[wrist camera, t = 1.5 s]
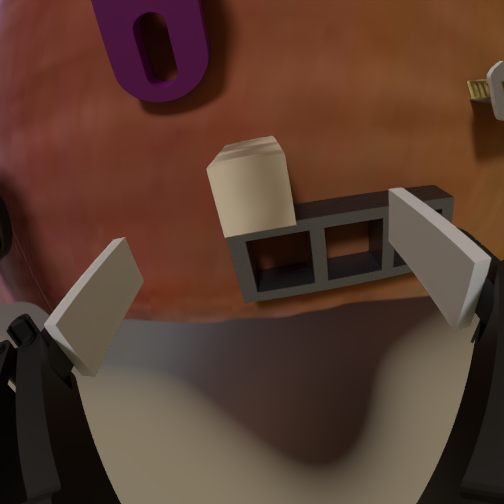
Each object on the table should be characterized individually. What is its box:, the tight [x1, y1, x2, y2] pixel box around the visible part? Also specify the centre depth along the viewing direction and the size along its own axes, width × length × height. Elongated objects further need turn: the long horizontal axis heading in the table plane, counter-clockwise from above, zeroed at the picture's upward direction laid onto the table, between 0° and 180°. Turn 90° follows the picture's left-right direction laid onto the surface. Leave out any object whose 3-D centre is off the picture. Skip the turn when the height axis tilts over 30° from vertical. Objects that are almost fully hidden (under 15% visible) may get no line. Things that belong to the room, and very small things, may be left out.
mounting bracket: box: [91, 0, 210, 102], centre depth 19 cm, size 10×8×18 cm
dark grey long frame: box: [226, 185, 454, 303], centre depth 30 cm, size 26×9×4 cm, turn 102°
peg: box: [207, 136, 296, 238], centre depth 23 cm, size 5×5×12 cm
